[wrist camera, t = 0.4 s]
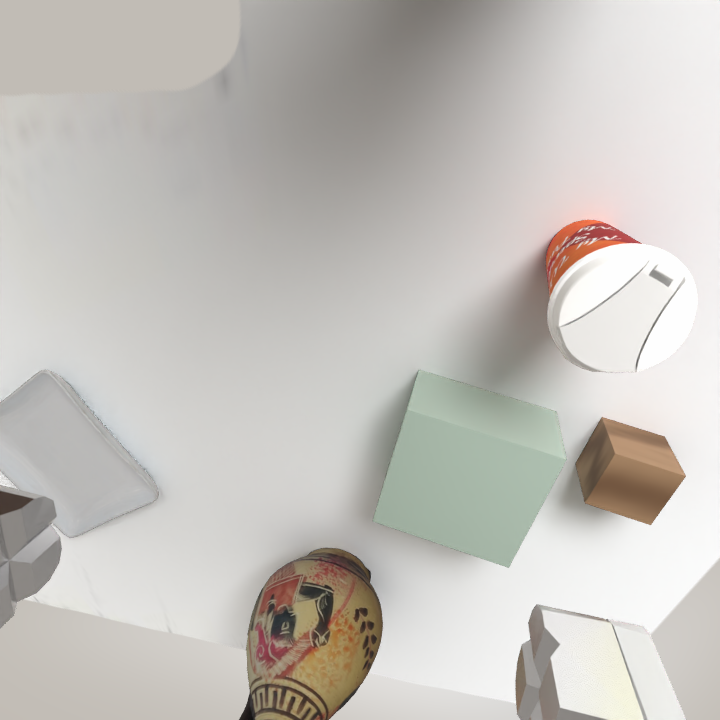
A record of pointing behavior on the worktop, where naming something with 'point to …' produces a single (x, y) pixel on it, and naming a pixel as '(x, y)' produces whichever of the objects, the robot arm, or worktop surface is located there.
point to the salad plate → (68, 456)
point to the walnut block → (628, 471)
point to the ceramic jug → (311, 637)
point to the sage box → (470, 468)
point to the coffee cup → (616, 299)
